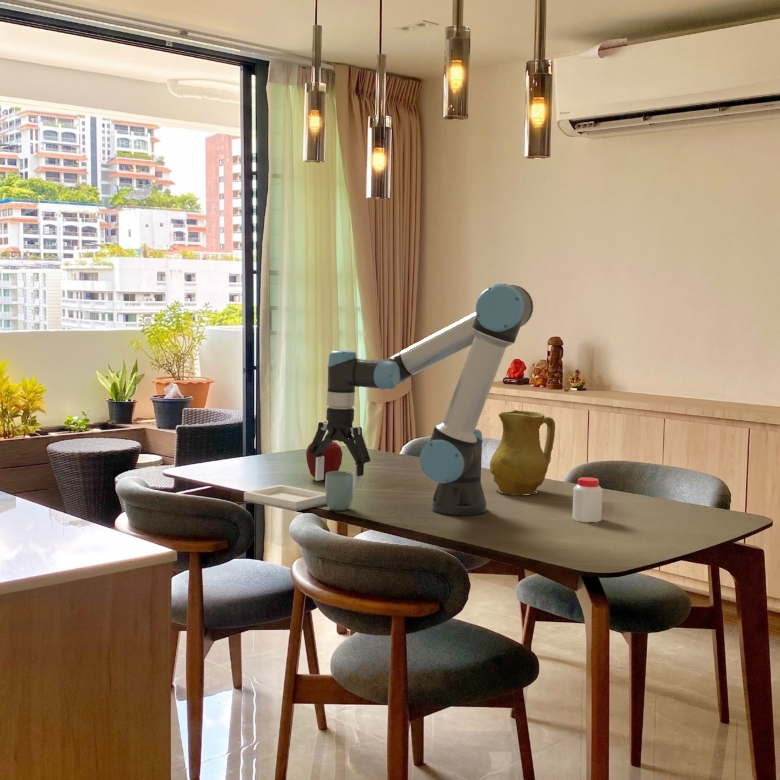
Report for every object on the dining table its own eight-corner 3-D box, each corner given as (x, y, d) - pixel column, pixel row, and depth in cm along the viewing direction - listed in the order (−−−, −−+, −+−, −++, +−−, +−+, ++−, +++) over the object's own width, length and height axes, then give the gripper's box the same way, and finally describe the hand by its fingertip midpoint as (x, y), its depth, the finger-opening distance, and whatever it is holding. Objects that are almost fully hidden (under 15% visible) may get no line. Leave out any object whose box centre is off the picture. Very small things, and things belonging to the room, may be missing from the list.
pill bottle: (595, 524, 259) (597, 482, 258) (567, 519, 263) (569, 479, 262) (605, 518, 266) (607, 478, 264) (578, 514, 270) (579, 475, 269)
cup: (349, 513, 266) (350, 476, 265) (321, 511, 267) (322, 475, 266) (356, 507, 273) (356, 471, 272) (329, 505, 275) (329, 470, 274)
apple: (333, 484, 306) (334, 441, 305) (299, 481, 310) (299, 439, 308) (347, 477, 317) (348, 436, 316) (314, 474, 321) (315, 434, 320)
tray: (331, 502, 278) (331, 494, 278) (295, 511, 267) (295, 502, 266) (280, 493, 291) (280, 484, 290) (243, 500, 279) (244, 492, 278)
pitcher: (490, 483, 310) (497, 405, 307) (550, 490, 306) (557, 411, 303) (484, 495, 293) (491, 413, 290) (547, 502, 290) (554, 419, 286)
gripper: (385, 411, 263) (381, 488, 265) (315, 401, 278) (313, 475, 280) (367, 413, 257) (364, 492, 259) (297, 403, 272) (295, 478, 274)
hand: (337, 483), depth 270 cm, fingers open, 13 cm apart
